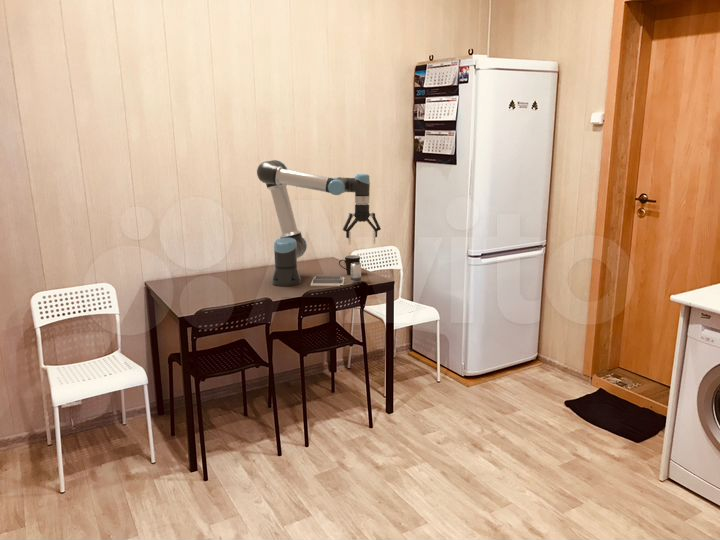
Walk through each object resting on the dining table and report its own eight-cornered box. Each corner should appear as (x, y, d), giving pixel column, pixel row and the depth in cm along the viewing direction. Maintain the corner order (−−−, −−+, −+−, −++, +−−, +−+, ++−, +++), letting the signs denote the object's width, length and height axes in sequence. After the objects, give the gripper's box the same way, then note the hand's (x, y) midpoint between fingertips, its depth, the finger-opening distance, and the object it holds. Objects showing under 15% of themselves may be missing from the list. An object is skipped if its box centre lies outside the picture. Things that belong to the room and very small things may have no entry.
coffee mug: (360, 272, 328) (360, 255, 326) (359, 275, 320) (359, 258, 318) (340, 271, 329) (340, 254, 327) (338, 275, 321) (338, 258, 319)
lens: (350, 283, 304) (350, 264, 302) (350, 280, 310) (350, 262, 308) (361, 283, 304) (361, 264, 302) (361, 280, 310) (361, 262, 308)
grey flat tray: (310, 285, 299) (310, 281, 298) (313, 278, 315) (313, 274, 314) (343, 285, 299) (342, 281, 298) (344, 278, 314) (344, 274, 314)
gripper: (340, 205, 294) (340, 245, 299) (386, 204, 300) (386, 244, 305) (337, 203, 301) (337, 243, 306) (382, 202, 307) (382, 241, 312)
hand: (361, 243), depth 305 cm, fingers open, 13 cm apart
